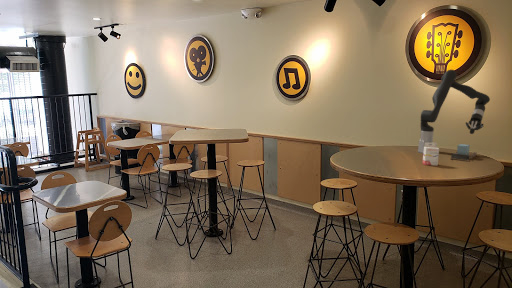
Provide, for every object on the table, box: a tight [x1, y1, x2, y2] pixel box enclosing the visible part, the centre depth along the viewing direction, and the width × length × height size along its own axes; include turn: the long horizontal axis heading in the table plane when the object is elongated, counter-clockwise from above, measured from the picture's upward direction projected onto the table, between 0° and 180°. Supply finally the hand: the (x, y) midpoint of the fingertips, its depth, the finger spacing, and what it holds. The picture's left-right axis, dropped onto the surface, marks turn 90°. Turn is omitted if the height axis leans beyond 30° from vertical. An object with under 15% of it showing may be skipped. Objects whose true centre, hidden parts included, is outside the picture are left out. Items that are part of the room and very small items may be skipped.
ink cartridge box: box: [422, 142, 440, 166], centre depth 260 cm, size 9×5×15 cm, turn 84°
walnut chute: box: [450, 151, 478, 163], centre depth 282 cm, size 23×12×4 cm, turn 138°
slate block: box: [456, 143, 470, 155], centre depth 278 cm, size 8×6×9 cm
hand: (471, 133), depth 292 cm, fingers closed
